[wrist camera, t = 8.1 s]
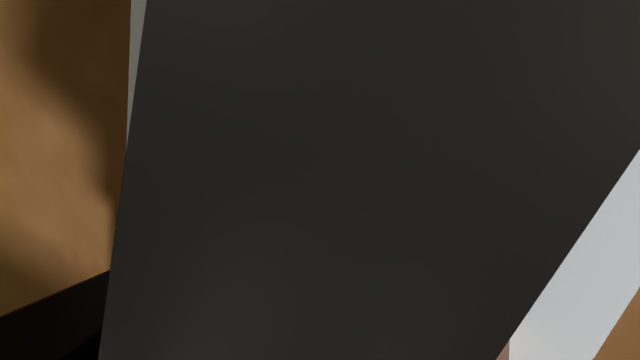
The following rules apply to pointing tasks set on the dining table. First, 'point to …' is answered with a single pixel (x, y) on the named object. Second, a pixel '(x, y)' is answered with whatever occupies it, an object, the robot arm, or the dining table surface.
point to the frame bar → (362, 173)
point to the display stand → (571, 277)
